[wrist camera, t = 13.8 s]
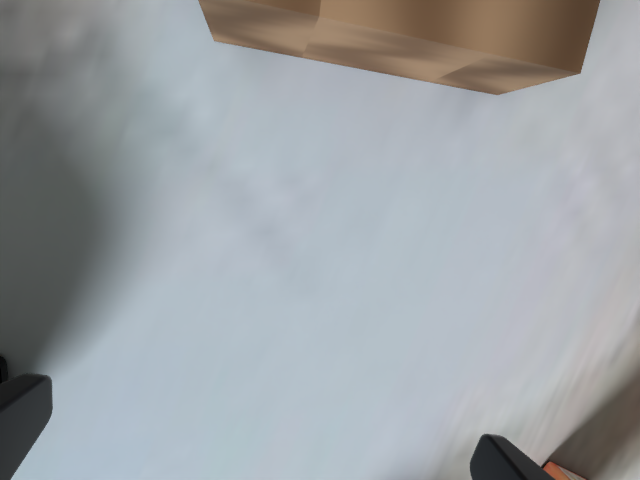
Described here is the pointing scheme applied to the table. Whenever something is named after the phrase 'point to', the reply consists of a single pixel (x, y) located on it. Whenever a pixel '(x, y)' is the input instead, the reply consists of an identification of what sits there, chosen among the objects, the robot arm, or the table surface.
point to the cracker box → (561, 472)
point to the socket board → (419, 36)
